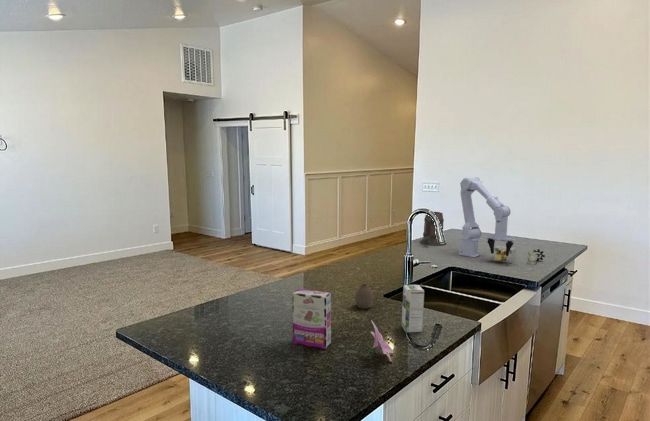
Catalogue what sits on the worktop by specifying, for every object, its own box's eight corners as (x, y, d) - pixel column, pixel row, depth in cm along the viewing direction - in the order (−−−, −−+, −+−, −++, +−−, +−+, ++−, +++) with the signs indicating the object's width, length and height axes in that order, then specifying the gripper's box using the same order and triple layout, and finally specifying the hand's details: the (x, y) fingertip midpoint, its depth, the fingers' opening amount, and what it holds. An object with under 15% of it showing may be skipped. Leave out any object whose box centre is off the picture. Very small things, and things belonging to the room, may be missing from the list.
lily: (378, 376, 116) (396, 346, 115) (345, 348, 122) (362, 320, 121) (393, 370, 126) (410, 343, 126) (362, 345, 132) (378, 319, 131)
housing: (491, 260, 234) (492, 247, 233) (496, 257, 240) (497, 245, 239) (510, 263, 227) (511, 250, 226) (515, 260, 233) (516, 247, 232)
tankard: (424, 239, 287) (425, 209, 284) (449, 242, 279) (451, 211, 276) (412, 246, 267) (413, 214, 264) (439, 249, 259) (440, 216, 256)
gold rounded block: (492, 261, 228) (493, 251, 227) (499, 257, 237) (500, 247, 236) (503, 263, 225) (503, 252, 224) (510, 259, 233) (510, 249, 232)
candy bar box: (331, 343, 133) (332, 292, 131) (326, 350, 129) (326, 297, 126) (298, 337, 137) (298, 287, 135) (292, 343, 133) (291, 292, 130)
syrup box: (401, 325, 146) (402, 284, 144) (418, 325, 147) (419, 284, 145) (405, 332, 141) (406, 290, 139) (423, 332, 141) (424, 289, 139)
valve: (536, 266, 222) (544, 261, 231) (537, 253, 222) (545, 250, 230) (523, 263, 227) (531, 259, 236) (524, 251, 226) (532, 248, 235)
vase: (367, 311, 159) (368, 288, 158) (351, 307, 163) (351, 285, 162) (375, 305, 165) (376, 283, 164) (359, 302, 169) (360, 280, 167)
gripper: (484, 228, 227) (483, 253, 229) (513, 231, 218) (511, 257, 220) (489, 226, 232) (487, 251, 234) (517, 229, 223) (515, 255, 225)
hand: (499, 254), depth 227 cm, fingers open, 7 cm apart
